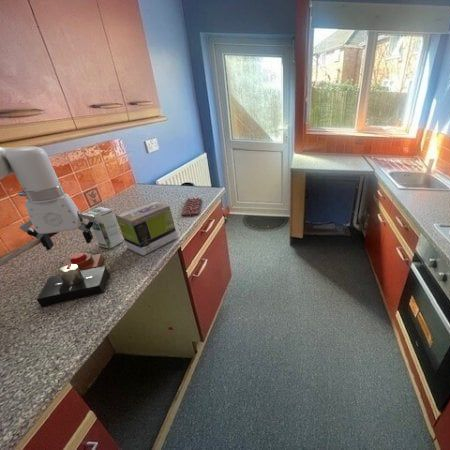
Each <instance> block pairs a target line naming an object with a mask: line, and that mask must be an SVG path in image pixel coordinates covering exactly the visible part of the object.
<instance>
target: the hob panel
mask: <svg viewBox="0 0 450 450" xmlns="http://www.w3.org/2000/svg"><path fill="white" fill-rule="evenodd" d="M81 274H82V276H83V280H82V281H81V282H80V283H78V284H75V285H72V286H66V285H65V284H64V283H63V281H62V279H61V277H60V275H58V274H57V275H52V276H49V277H48V279H47V281H46V282H45V284H44V286H43V287H42V289H41V291H40V292H39V294H38V296H37V298H36V301H37V302H38V304H39V306H40V307H41V308H43V307H48V306H52V305H57V304H61V303H65V302H69V301H73V300H78V299H83V298H87V297H91V296H96V295H100V294H103V293H104V290H105V287H106V283H107V280H108V278H109V271H108V269H107V266H106V265H103V266H101V267H98V268H92V269H87V270H82V271H81Z"/></svg>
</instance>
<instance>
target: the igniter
mask: <svg viewBox="0 0 450 450" xmlns="http://www.w3.org/2000/svg"><path fill="white" fill-rule="evenodd" d="M83 253H84V254H85V257H86V259H84V260H83V261H80V262H76V263H73V262H72V261H71V259H70V257H69V258H67V259H65V260H64V262H63V263H62V265H61V267H60V269H61V268H62V267H64V266H67V265H69V264H76V265H78V267H79V269H80V271H82V270H87V269H92V268H98V267H102V264H103V261H104V256H103V254H102V253H97V254H91V253H90V252H89V253H88V252H83ZM57 275H59V273H58V272H57Z"/></svg>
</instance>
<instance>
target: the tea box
mask: <svg viewBox="0 0 450 450" xmlns="http://www.w3.org/2000/svg"><path fill="white" fill-rule="evenodd" d="M115 219H116V222H117V225H118V227H119V230H120V233H121V235H122V237H123V240H124V242H125V245H126V247H127V249H129V250H131V251H133V252H135V253H136V254H138V255H141V256H146V255H147V254H149V253H151V252H153V251H155V250H157V249H158V248H161V247H163V246H164V245H167V244H168V243H171V242H172V241H174V240H176V239H178V233H177V229H176V226H175V221H174V218H173V214H172V211H171V207H170V205H166V204H163V203H160V202H157V201H155V200H153V201H149V202H147V203H144V204H142V205H140V206H136V207H134V208H130V209H128V210H125V211H122V212H120V213H117V214H115Z"/></svg>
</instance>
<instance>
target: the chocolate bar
mask: <svg viewBox="0 0 450 450" xmlns="http://www.w3.org/2000/svg"><path fill="white" fill-rule="evenodd" d="M201 204H202V198H201V197H196V198H195V197H193V198H190V197H188V198H186V202H185V204H184V208H183V210H182V213H181V215H182V217H186V216H187V217H192V216H199V214H200V209H201Z"/></svg>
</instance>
